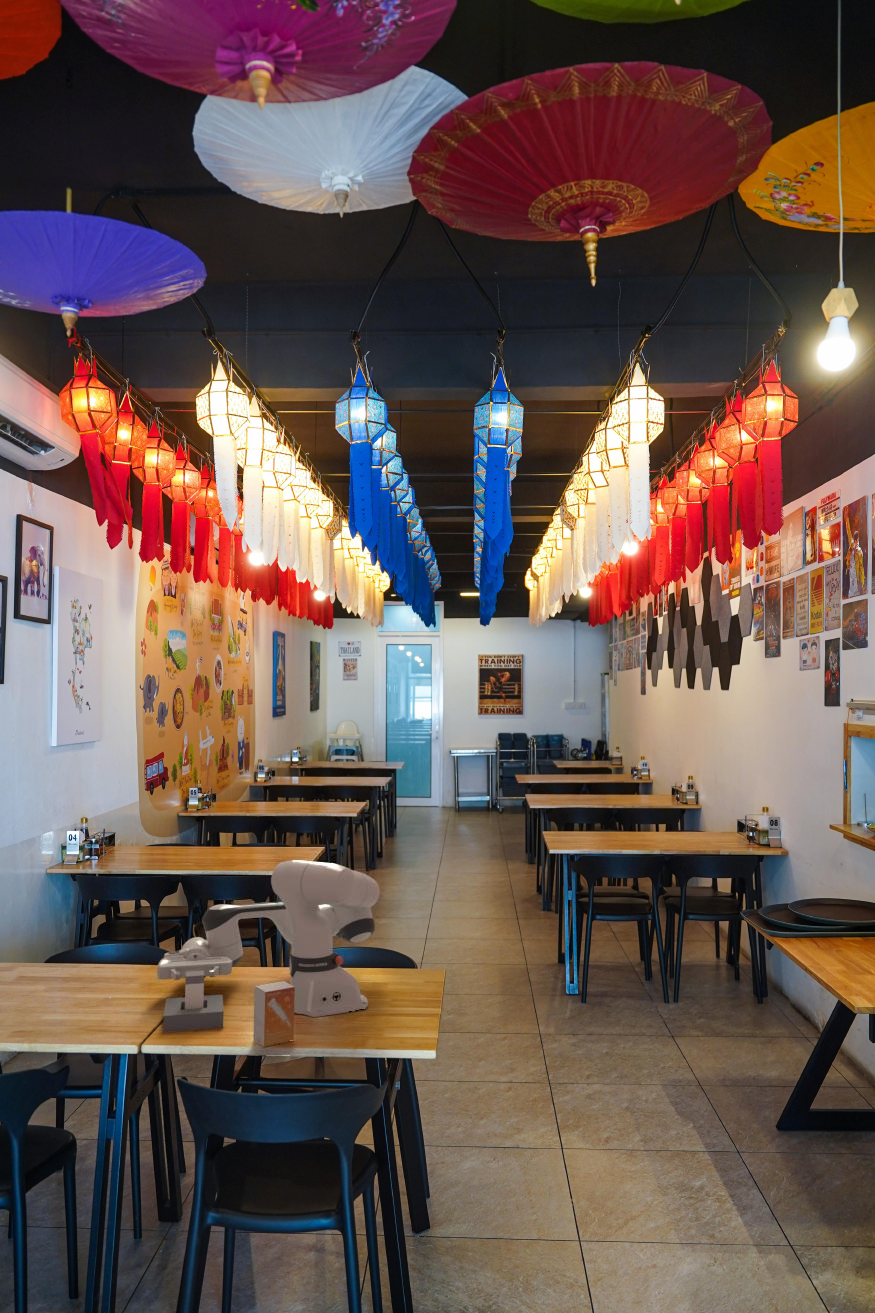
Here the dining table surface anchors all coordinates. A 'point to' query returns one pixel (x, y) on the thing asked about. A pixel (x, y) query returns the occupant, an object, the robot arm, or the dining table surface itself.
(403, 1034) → the dining table surface
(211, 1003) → the socket block
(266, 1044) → the small box
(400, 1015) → the dining table surface
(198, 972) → the plug
